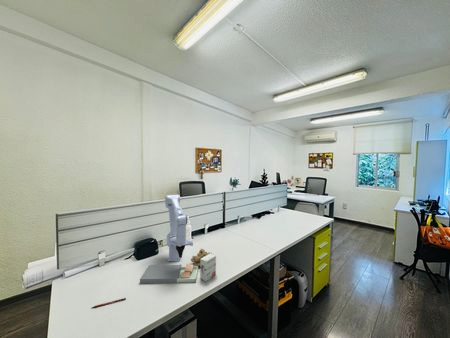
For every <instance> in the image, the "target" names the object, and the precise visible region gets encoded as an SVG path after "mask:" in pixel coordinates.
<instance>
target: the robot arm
mask: <svg viewBox="0 0 450 338" xmlns="http://www.w3.org/2000/svg"><path fill="white" fill-rule="evenodd" d="M180 202H181V196H180V194H167V195H165V196H164V203H165V204H164V205H165V208H167V210H168V215H169V216H168V217H169V228H170V232H169V233H168V234H167V235H166V246H167V247H168V258H167V260H166V261H167V262H180V260H181V259H182V258H183V254H184V250H185V247H186V246H191V247H193V246H194V241H193V240H191V241H190V240H187V238H186V236H187V234H186V233H187V224H188V215H187V214H186V213H185V212H184V211H183V208H182V207H180Z"/></svg>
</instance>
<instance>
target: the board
mask: <svg viewBox="0 0 450 338" xmlns="http://www.w3.org/2000/svg"><path fill="white" fill-rule="evenodd" d="M181 267H182V264H155V265H154V264H149V265H148V266H147V267H146V269H145V270H144V271H143V272H144V273H143V274H142V275H141V276H140V279H139V284H141V285H142V284H144V285H145V284H178V283H177V279H178V277H179V274H180V271H181Z"/></svg>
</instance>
